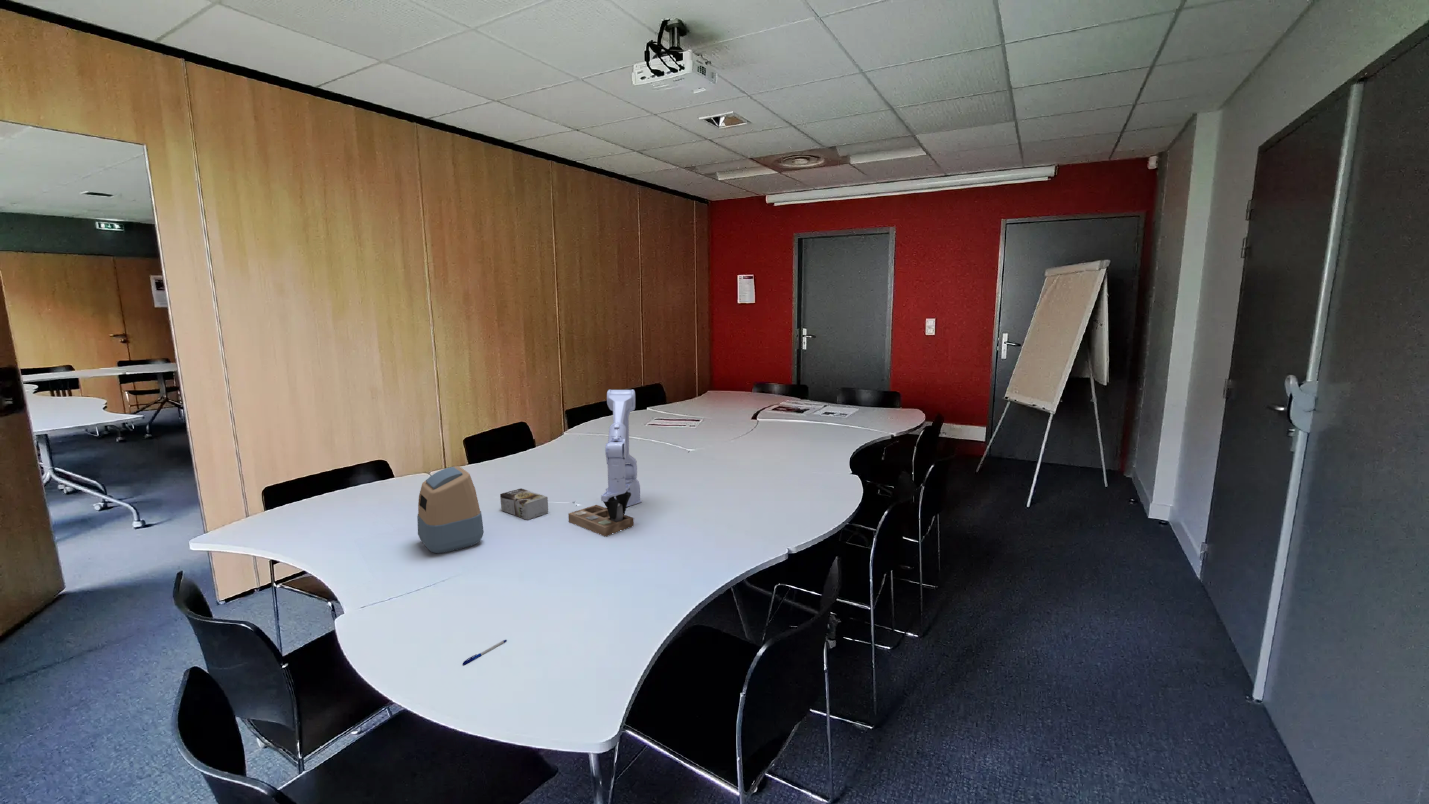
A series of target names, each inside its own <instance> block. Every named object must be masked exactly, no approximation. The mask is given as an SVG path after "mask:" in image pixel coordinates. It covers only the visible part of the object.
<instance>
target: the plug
mask: <svg viewBox="0 0 1429 804" xmlns="http://www.w3.org/2000/svg"><path fill="white" fill-rule="evenodd" d="M622 520H623V508H622V504H620V503H618V506H617V516H616V519H611V521H614V522H619V521H622Z"/></svg>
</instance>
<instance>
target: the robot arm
mask: <svg viewBox="0 0 1429 804" xmlns="http://www.w3.org/2000/svg"><path fill="white" fill-rule="evenodd" d="M606 404H607V407H608V409H609V410H610V411H612V415H613V416H612V417H613V418H612V423H611V424H610V426H609V427H608V428H609V430H608V438H607V442H606V443H605V447H604V448H605V449H604V451H605V459H606V465H607V487H606V488H605V492H604V493H602V494H601V495H600V501H601V502H602V503H604V505H605V508H607V510H608V513H609V516H610V518H611V519H616V516H617V506H618V503H620V504H622V508H623V514H624V515H626V510H627V508H628V507H631V506H634V505H636V504H640V503H642V502H643V501H642V500H641V484H640V481H639V480H638V479H637V478H638V465H637V460H636V458H635V457H634V456H632V455H631V454H630V426H629V425H630V418H629V417H630V413H631V412H633V411H635V409H636V391H635V389H608V390H607V392H606Z"/></svg>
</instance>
